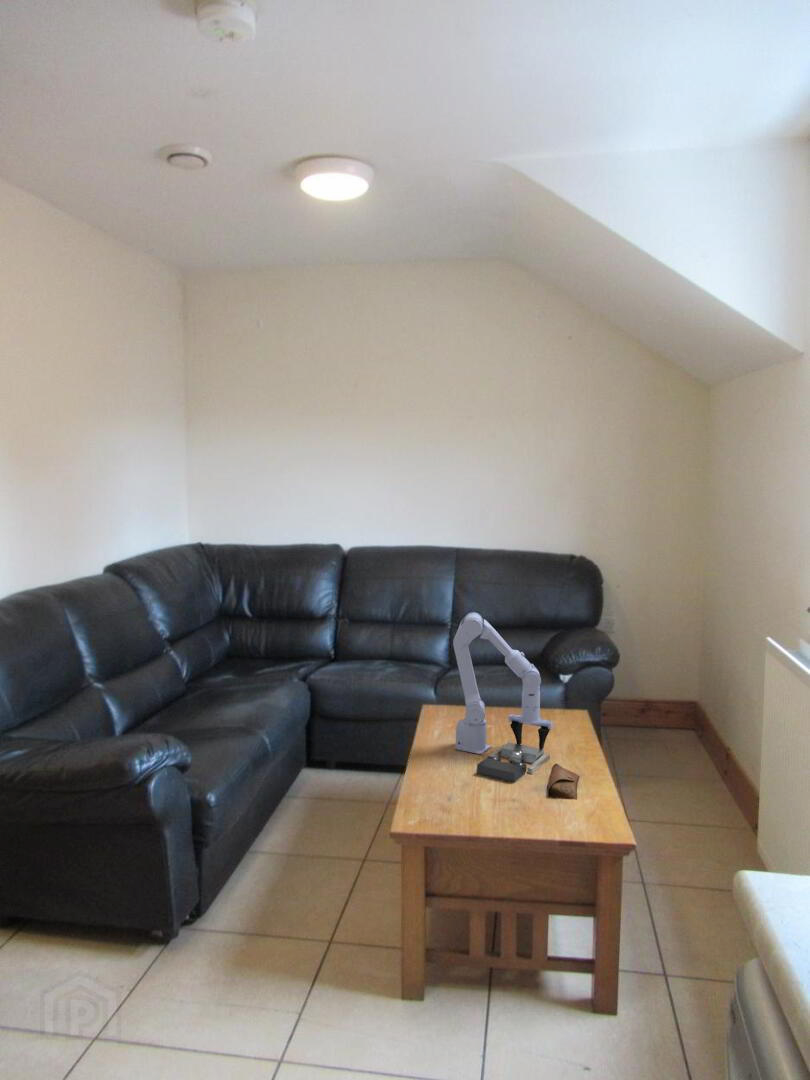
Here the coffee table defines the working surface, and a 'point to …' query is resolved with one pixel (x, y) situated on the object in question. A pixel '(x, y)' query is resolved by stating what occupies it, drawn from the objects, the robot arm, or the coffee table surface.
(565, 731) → the coffee table surface
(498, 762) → the fixed leaf
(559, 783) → the sunglasses case
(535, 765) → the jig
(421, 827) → the coffee table surface
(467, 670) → the robot arm
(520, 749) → the grey piece
